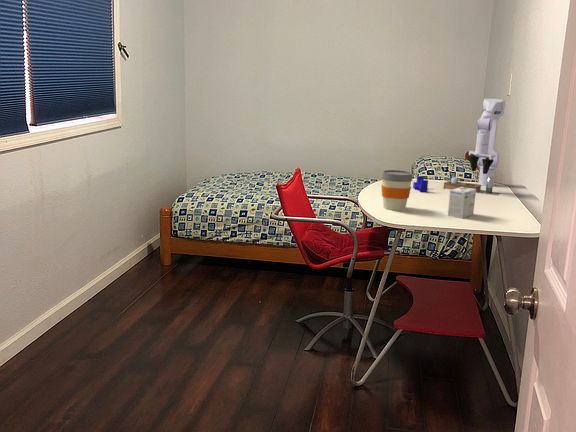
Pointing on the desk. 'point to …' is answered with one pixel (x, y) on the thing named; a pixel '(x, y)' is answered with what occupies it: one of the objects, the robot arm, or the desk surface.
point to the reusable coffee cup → (396, 189)
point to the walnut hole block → (461, 185)
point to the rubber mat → (491, 193)
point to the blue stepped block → (421, 184)
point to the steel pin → (489, 184)
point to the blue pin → (454, 180)
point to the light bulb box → (461, 202)
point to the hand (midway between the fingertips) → (479, 172)
